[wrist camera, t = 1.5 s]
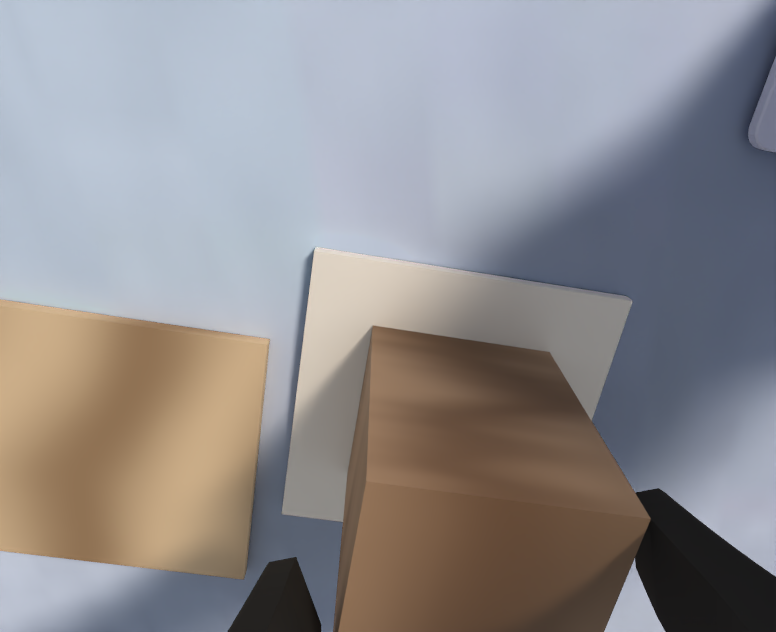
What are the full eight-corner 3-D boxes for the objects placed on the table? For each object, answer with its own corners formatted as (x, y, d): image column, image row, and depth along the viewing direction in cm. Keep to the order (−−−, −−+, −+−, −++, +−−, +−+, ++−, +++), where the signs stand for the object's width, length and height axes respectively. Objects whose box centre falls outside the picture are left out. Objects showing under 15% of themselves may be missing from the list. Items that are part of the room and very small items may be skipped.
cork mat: (269, 339, 17) (267, 345, 17) (246, 570, 21) (243, 579, 20) (-48, 292, 17) (-58, 297, 16) (-19, 538, 20) (-27, 547, 20)
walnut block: (549, 352, 17) (651, 518, 11) (507, 495, 19) (570, 711, 13) (372, 325, 17) (366, 481, 10) (347, 474, 19) (328, 685, 12)
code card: (627, 296, 17) (632, 301, 17) (545, 539, 20) (548, 548, 20) (315, 247, 16) (314, 251, 16) (283, 505, 20) (281, 514, 19)
